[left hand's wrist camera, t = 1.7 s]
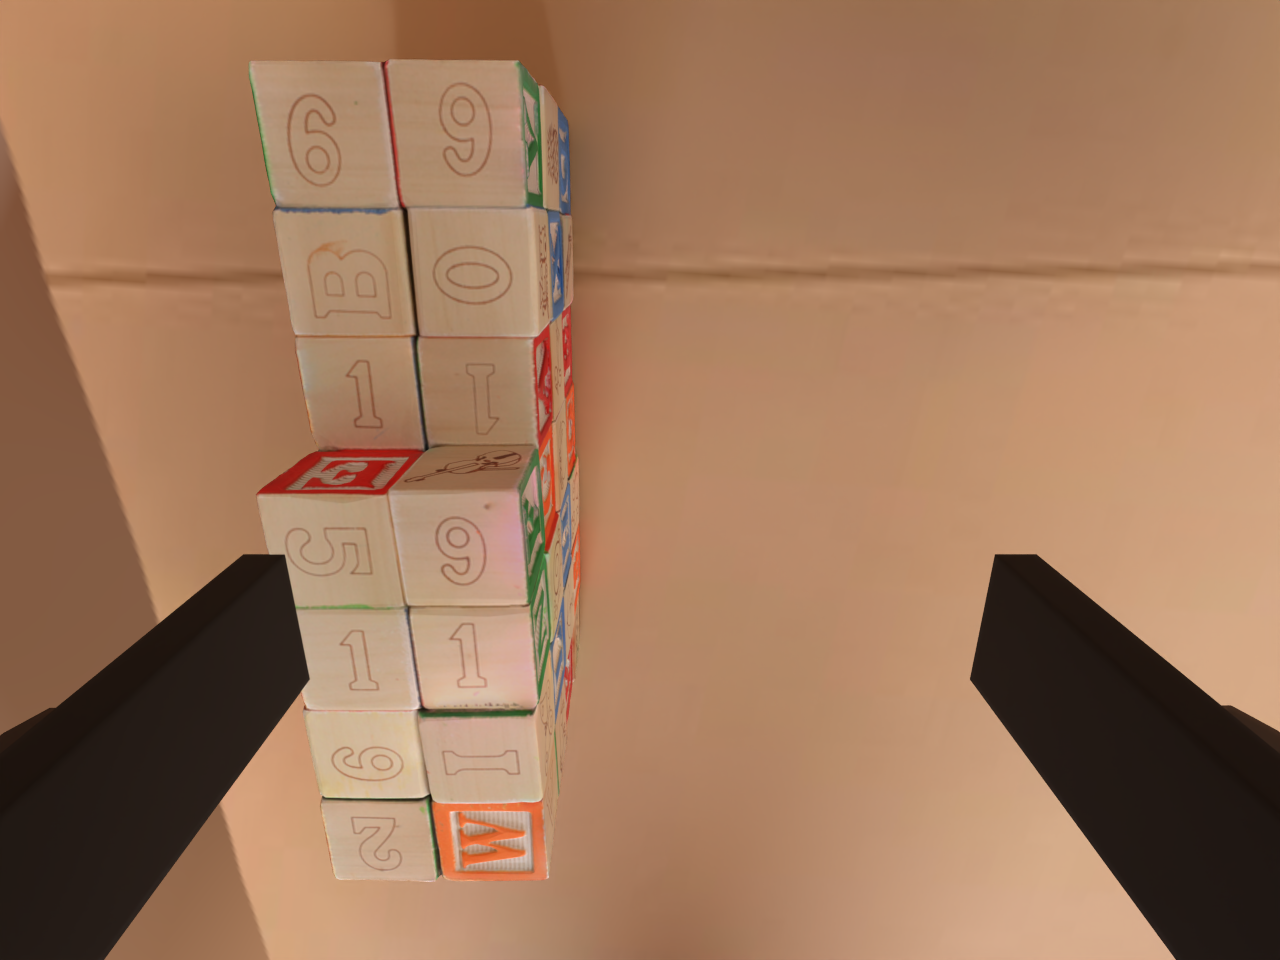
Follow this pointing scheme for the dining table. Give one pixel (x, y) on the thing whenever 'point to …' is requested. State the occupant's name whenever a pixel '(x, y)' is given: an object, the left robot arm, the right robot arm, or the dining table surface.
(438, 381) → the stack of blocks
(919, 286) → the dining table surface
